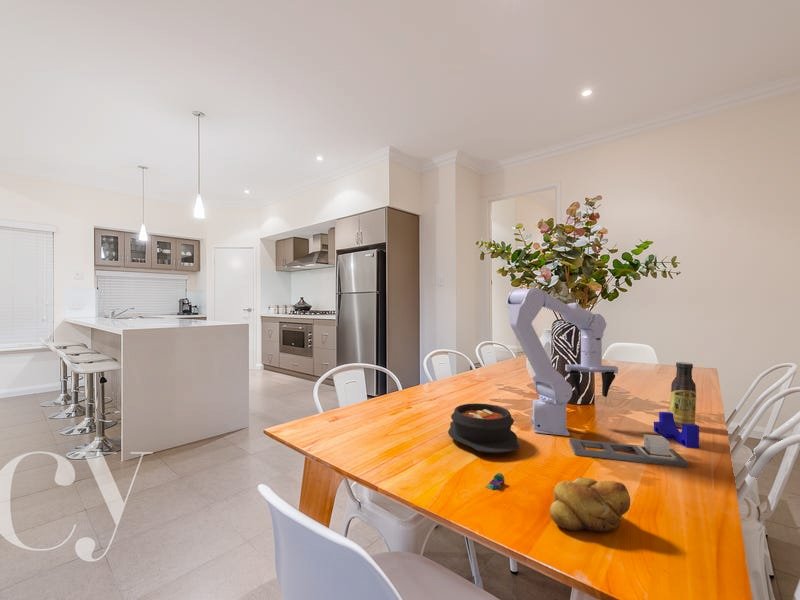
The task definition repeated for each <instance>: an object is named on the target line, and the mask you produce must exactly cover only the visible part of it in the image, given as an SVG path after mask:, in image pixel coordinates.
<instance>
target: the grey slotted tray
mask: <svg viewBox="0 0 800 600" xmlns="http://www.w3.org/2000/svg"><path fill="white" fill-rule="evenodd" d="M568 439H569V440H568V443H569V446H570V448H571V450H572V452H573V454H574V456H582V457H588V458H596V459H597V458H598V459H608V460H616V461H623V462H624V461H626V462H635V463H642V464H643V463H644V464H650V463H651V464H653V465H661V466H670V467H679V468H687V469H688V468H689V462H688V461H687V460H686V459H685V458H684V457H682V456H681V455H680V454H679V453H678V452H677V451H676V450H675V449H673V448H670V457H664V456H655V455H648V454H647V453H646V452H645V451H644V445H637V444H627V443H626V444H625V443H616V442H605V441H597V440H587V439H577V438H568ZM584 447H586V449H585V448H584ZM587 448H593V449H587ZM595 448H596V449H602V450H596V449H595ZM616 451H625V452H632V453H633V454H632V453H623V452H616Z"/></svg>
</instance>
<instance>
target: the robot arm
mask: <svg viewBox="0 0 800 600" xmlns="http://www.w3.org/2000/svg"><path fill="white" fill-rule="evenodd" d="M505 304H506V306H507V308H508V314H509V315H508V316H509V324H510V327H511V329H512V331H513V333H514V335H515V337H516V340H517V341H518V343H519V345H520V346H521V348H522V350H523V353H524V354H525V356H526V359H527V360H528V362H529V364H530V366H531V368H532V370H533V371H534V375H533V377H532V380H533V382H534V390H535V392H536V393H537V394H538V399H532V418H531V424H532V427H533V431H534V433H536V434H549V435H557V436H567V437H570V436H571V435H570V434H571V433H570V432H569V430H568V428H567V404H569V401H570V400H571V398H572V396H573V391H574V390H575V395H576V396H581V389H580V388H581V387H580V386H581V385H580V384H581V374H580V372H581V373H582V372H583V373H600V374H601V381H602V383H601V384H602V387H601V393H602V394H601V395H602V396H603V397H604V398H607V397H608V393H609V389H610V388H611V385H612V383H613V381H614V380H615V379H616V374H619V367H617V366H613V365H604V364H602V359H603V358H602V354H603V353H602V347H603V346H602V343H603V342H602V341H603V340H602V338H603V337H604V332H605V330H606V328H607V325H608V324H607V322H606V319H605V317H604V316H603V315H602V314H601V313H593V312H591V309H588V308H587V309H585V308H583V307H581V306H580V303H578V302H570V303H566V302H563V301H561V300H560V299H558V298H556V297H554V296H552V295H551V294H549V293H548V292H547V291H546V290H543V289H540V288H538V287H532V288H514V289H512V290H510V292H509V293H508V296H507V297H506V301H505ZM542 308H545V309H548V310H550V311H553V312H554V313H557V314H559V315H560V316H561V319H563V321H566V322H568V323H569V324H572V325H574V326H576V328H577V329H578V331H580V363H579V364H577V363H576V364H575V363H574V364H572V363H571V364H565V368H564V369H565V371H566V372H568V374H569V376H570V378H571V381H572V383H573V386H574V390H573V387H572V385H571V383H570V382H568V381H567V380H566V379H565V377H564V376H563V375H562V374H561V373H560V372H559V371H558V370H556V369H555V367H554V366H553V364H552V362H551V360H550V357H549V356H548V354H547V352H546V350H545V348H544V345H543V344H542V342H541V340H540V338H539V335H538V334H537V331H536V330H535V328H534V326H533V324H532V323H533V321H534V320H535V319H536V317H537V316H538V314H539V313H540V311H541V310H542Z"/></svg>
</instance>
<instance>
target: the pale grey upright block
mask: <svg viewBox="0 0 800 600" xmlns="http://www.w3.org/2000/svg"><path fill="white" fill-rule="evenodd" d="M643 446H644V451H645V452H646V453H647V454H648V455H655V456H664V457H670V449H671V448H670V441H669V439H666V438H664V437H663V436H661V435H655V434H646V433H645V434H643Z"/></svg>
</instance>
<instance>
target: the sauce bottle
mask: <svg viewBox="0 0 800 600" xmlns="http://www.w3.org/2000/svg"><path fill="white" fill-rule="evenodd" d="M675 367H676V374H675V375H676V376H675V378H674V379H673V380H672V381H671V385H670V386H671V389H670V395H669V396H670V397H669V398H670V400H669V401H670V402H669V412H671V413H673V417H674V422H675V424H676V427H677V428H678V429H682V428H683V424H696V410H697V408H696V407H697V406H696V405H697V387H696V383H695V381H694V380H693V372H692V371H693V368H694V364H693V363H691V362H683V361H677V362H676V364H675Z"/></svg>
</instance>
